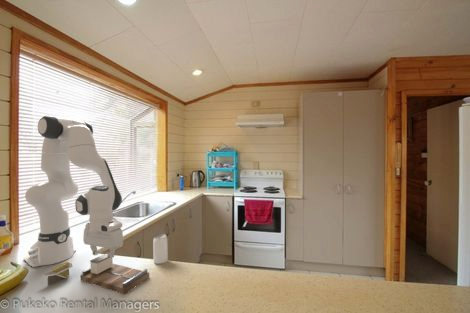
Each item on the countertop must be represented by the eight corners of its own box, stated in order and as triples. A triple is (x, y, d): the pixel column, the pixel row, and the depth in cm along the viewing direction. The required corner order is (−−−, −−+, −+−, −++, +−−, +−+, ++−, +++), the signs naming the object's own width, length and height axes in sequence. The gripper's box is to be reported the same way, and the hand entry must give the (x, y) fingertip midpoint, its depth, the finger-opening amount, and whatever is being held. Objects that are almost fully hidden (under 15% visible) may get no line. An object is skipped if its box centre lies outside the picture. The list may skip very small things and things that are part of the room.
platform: (91, 272, 96) (91, 257, 96) (44, 297, 79) (44, 279, 79) (72, 268, 100) (72, 254, 100) (24, 291, 83) (23, 274, 83)
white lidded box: (90, 272, 91) (90, 260, 91) (106, 264, 98) (106, 253, 98) (97, 274, 89) (96, 262, 89) (112, 266, 96) (112, 254, 96)
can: (163, 265, 101) (162, 239, 101) (150, 263, 103) (150, 238, 103) (170, 258, 108) (169, 234, 108) (158, 257, 109) (157, 233, 109)
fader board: (80, 280, 90) (80, 271, 90) (107, 266, 101) (107, 258, 101) (124, 294, 80) (124, 284, 80) (149, 277, 91) (149, 268, 91)
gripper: (78, 224, 94) (79, 256, 94) (111, 228, 87) (113, 263, 87) (92, 220, 100) (94, 250, 100) (125, 223, 92) (126, 256, 93)
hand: (103, 256), depth 93 cm, fingers open, 8 cm apart
